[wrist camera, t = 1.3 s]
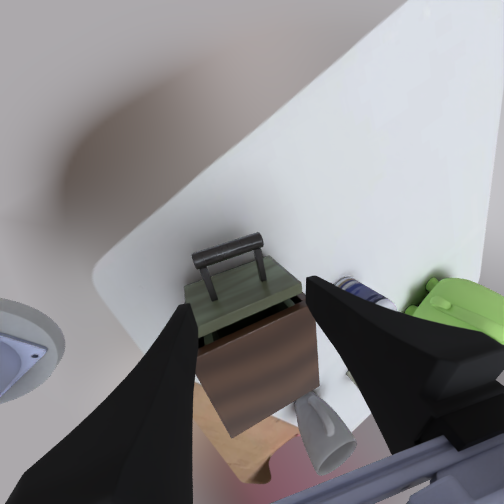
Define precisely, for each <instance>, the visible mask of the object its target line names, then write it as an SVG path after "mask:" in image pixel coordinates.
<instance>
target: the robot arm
mask: <svg viewBox="0 0 504 504" xmlns="http://www.w3.org/2000/svg"><path fill="white" fill-rule="evenodd" d="M305 303H306V305H307V307H308V309H309V310H310V312H311V314H312V316H313V317H314V319H315V320H316V322H317V323H318V325H319V326H320V328H321V329H322V330H323V332H324V333H325V335H326V336H327V337H328V339H329V340H330V342H331V343H332V344H333V346H334V347H335V349H336V350H337V352H338V353H339V355H340V356H341V358H342V360H343V361H344V363H345V365H346V367H347V368H348V370H349V372H350V374H351V375H352V377H353V379H354V381H355V383H356V384H357V386H358V388H359V390H360V392H361V394H362V396H363V397H364V399H365V401H366V403H367V405H368V407H369V409H370V411H371V413H372V415H373V417H374V419H375V421H376V423H377V425H378V427H379V429H380V431H381V433H382V435H383V437H384V439H385V441H386V443H387V445H388V448H389V450H390V452H391V454H392V456H389V457H387V458H384V459H382V460H379V461H376V462H374V463H371V464H369V465H366V466H364V467H361V468H358V469H356V470H353V471H351V472H349V473H346V474H343V475H341V476H338V477H336V478H333V479H331V480H328V481H326V482H323V483H321V484H318V485H316V486H313V487H311V488H308V489H306V490H303V491H301V492H298V493H295V494H293V495H290V496H288V497H285V498H283V499H280V500H278V501H275V502H273V503H270V504H375V503H377V502H379V501H382V500H384V499H386V498H389V497H391V496H393V495H396V494H398V493H400V492H403V491H405V490H407V489H409V488H412V487H414V486H416V485H419V484H421V483H423V482H426V481H428V480H430V479H431V480H430V485H428V486H427V487H425V488H423V489H421V490H420V491H418V492H416V493H414V494H413V495H411V496H410V498H409V501H408V502H407V503H406V504H504V386H503V385H501V384H500V383H499V382H498V381H496V378H497V377H498V376H499V375H500V374H501V372H502V371H503V370H504V345H503V344H501V343H499V342H498V341H496V340H495V339H493V338H491V337H490V336H488V335H487V334H485V333H483V332H481V331H476V330H471V329H466V328H461V327H456V326H451V325H446V324H442V323H438V322H433V321H429V320H425V319H422V318H418V317H414V316H411V315H408V314H404V313H401V312H398V311H395V310H392V309H389V308H386V307H383V306H380V305H378V304H375V303H373V302H370V301H368V300H365V299H363V298H361V297H358V296H356V295H354V294H352V293H350V292H348V291H345V290H343V289H341V288H339V287H337V286H335V285H333V284H332V283H330V282H328V281H326V280H324V279H322V278H320V277H317V276H311V277H306V300H305ZM47 350H48V348H47V347H45V346H42V345H39V344H36V343H33V342H30V341H27V340H23V339H20V338H17V337H14V336H11V335H8V334H5V333H1V332H0V397H1V396H2V395H3V394H4V393H5V392H6V391H7V390H8V389H9V388H10V387H11V386H12V385H13V384H14V383H15V382H16V381H18V380H19V379H20V378H21V377H22V376H23V375H24V374H25V373H26V372H27V371H28V370H29V369H30V368H31V367H32V366H33V365H34V364H35V363H36V362H37V361H38V360H39V359H40V358H41V357H42V356H43V355H44V354H45V353H46V352H47ZM35 354H37V355H35ZM197 354H198V326H197V323H196V320H195V317H194V314H193V311H192V307H191V304H190V303H186V304H182V305H179V306H178V307H177V309H176V310H175V312H174V313H173V315H172V317H171V318H170V320H169V321H168V323H167V324H166V326H165V327H164V329H163V330H162V332H161V333H160V335H159V336H158V338H157V339H156V341H155V342H154V343H153V345H152V346H151V347H150V349H149V350H148V351H147V353H146V354H145V355H144V357H143V358H142V359H141V360H140V362H139V363H138V364H137V365H136V366H135V368H134V369H133V370H132V371H131V372H130V373H129V374H128V376H127V377H126V378H125V379H124V380H123V381H122V382H121V383H120V384H119V385H118V386H117V387H116V388H115V389H114V391H113V392H112V393H111V394H110V395H109V396H108V397H107V398H106V399H105V400H104V401H103V402H102V403H101V404H100V405H99V406H98V407H97V408H96V409H95V410H94V411H93V412H92V413H91V414H90V415H89V416H88V417H87V418H85V419H84V420H83V421H82V422H81V423H80V424H79V425H78V426H77V427H76V428H75V429H74V430H73V431H71V433H69V434H68V435H67V436H66V437H65V438H64V439H63V440H61V441H60V442H59V443H58V444H57V445H56V446H55V447H53V448H52V449H51V450H50V451H49V452H48V453H46V454H45V455H44V456H43V457H42V458H41V459H40V460H38V461H37V462H36V463H35V464H34V465H33V466H32V467H30V468H29V469H28V470H27V471H26V472H24V474H23V475H22V477H21V478H20V480H19V482H18V483H17V485H16V487H15V488H14V490H13V492H12V493H11V495H10V497H9V498H8V500H7V502H6V503H5V504H193V489H192V488H193V485H192V484H193V482H192V420H193V391H194V381H195V372H196V363H197Z"/></svg>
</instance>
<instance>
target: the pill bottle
mask: <svg viewBox="0 0 504 504" xmlns="http://www.w3.org/2000/svg"><path fill="white" fill-rule="evenodd" d="M335 286H337V287H339V288H341V289H343V290H345V291H348V292H350V293H352V294H354V295H356V296H358V297H361V298H363V299H365V300H368V301H370V302H373V303H375V304H378V305H380V306H383V307H386V308H389V309H392V310H395V311H397V307H396V305H395V303H393V302H392V301H391V300H389V299H388V298H386V297H384V296H382V295H381V294H379V293H377V292H375V291H374V290H372V289H370V288H369V287H367V286H365V285H363V284H362V283H360V282H358V281H357V280H355V279H353V278H344V279H342V280H340V281H339V282H338V283H337V284H336V285H335Z"/></svg>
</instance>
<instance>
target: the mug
mask: <svg viewBox="0 0 504 504" xmlns="http://www.w3.org/2000/svg"><path fill="white" fill-rule="evenodd" d="M294 407H295V410H296V416H297V422H298V427H299V431H300V434H301V437H302V440H303V443H304V446H305V448H306V451H307V453H308V455H309V458H310V460H311V462H312V465H313V467H314V469H315V471H316V473H317V474H318V475H325V474H328V473H330V472H332V471H333V470H335V469H336V468H337V467H339V466H340V465H341V464H343V463H344V462H345V461H346V460H347V458H349V457H350V455H351V454H352V453H353V452H354V450H355V448H356V445H357V442H356V440H355V438H354V436H353V435H352V433H351V432H350V430H349V429H348V427H347V426H346V425H345V423H344V422H343V421H342V419H341V418H340V417H339V416H338V414H337V413H336V412H335V411H334V410H333V409H332V408H331V407H330V406H329V405H328V404H327V403H326V402H325V401H324V400H323V399H321V398H320V397H319V396H317V395H316V394H315V393H314V392H313V391H310V392H309V393H307V394H305V395H304V396H302V397H300V398H299V399H297V400H296V402H295V405H294Z"/></svg>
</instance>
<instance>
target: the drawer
mask: <svg viewBox="0 0 504 504" xmlns="http://www.w3.org/2000/svg"><path fill="white" fill-rule="evenodd" d="M263 246H264V243H263V239H262V236H261V234H260V233H259V232H257V233H254V234H251V235H247V236H244V237H241V238H238V239H235V240H232V241H229V242H226V243H223V244H220V245H217V246H214V247H211V248H207V249H204V250H201V251H198V252H195V253H192V254H191V255H192V259H193V262H194V265H195V267H196V269H197V270H198V269H200V272H201V275H202V277H203V280H200V281H198V282H195V283H192V284H189V285H187V286H184V289H185V304H186V303H190V304H191V307H192V311H193V314H194V317H195V320H196V323H197V326H198V338H200V337H204V343H205V345H207V344H209V343H211V342H214V341H216V340H218V339H220V338H223V337H225V336H227V335H229V334H231V333H234V332H236V331H238V330H240V329H242V328H245V327H247V326H249V325H251V324H253V323H256V322H258V321H260V320H262V319H264V318H267V317H269V316H271V315H273V314H275V313H278V312H280V311H282V310H284V309H286V308H289V307H291V306H293V305H295V304H294V303H293V301H292V300H291V299H290V298H291V297H294V296H296V295H298V294H300V293H302V284H301V282H300V281H299V280H298V279H296V278H295V277H294V276H293V275H292V274H290V273H289V272H288V271H287V270H286V269H285V268H283V267H282V266H281V265H280V264H279V263H278V262H276V261H275V260H274V259H273V258H272V257H270V256H266V257H264V258H263V256H262V251H261V247H263ZM250 251H254V255H255V261H253V262H250V263H247V264H244V265H242V266H239V267H236V268H233V269H231V270H228V271H225V272H222V273H220V274H217V275H214V276H211V277H210V275H209V272H208V269H207V266H210V265H213V264H215V263H218V262H221V261H224V260H227V259H230V258H233V257H235V256H238V255H241V254H244V253H247V252H250Z"/></svg>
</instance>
